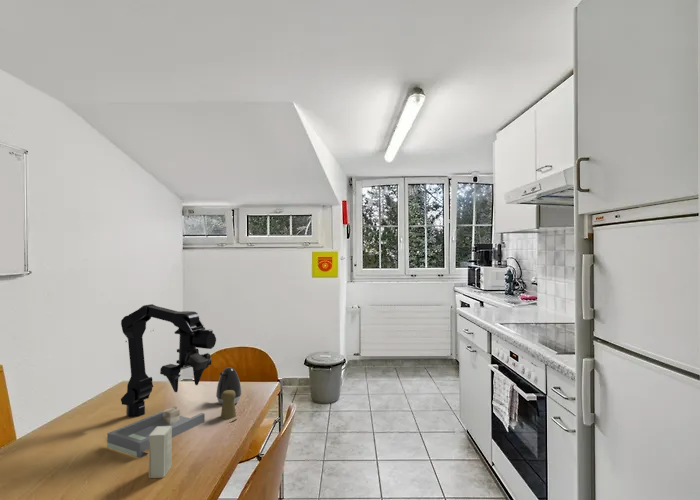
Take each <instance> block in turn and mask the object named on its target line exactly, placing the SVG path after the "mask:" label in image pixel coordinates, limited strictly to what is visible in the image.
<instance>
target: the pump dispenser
mask: <svg viewBox="0 0 700 500" xmlns="http://www.w3.org/2000/svg"><path fill="white" fill-rule="evenodd" d="M219 375H220V376H219V379H218V382H217V387H216V392H215V394H216V398H217V399H216V400H217V402H218V403H219V404H220V405H222V404H223V400H222V398H221V395H222V393H223V392H224V391H226V390H233V391H235V394H236V396H235V399H234V403H235V405H236V404H237V403H238V402H239V400H240V398H241V395H242V386H241V381H240V378H239V375H238V373H237V371H236V370H235V368H233V367H231V366H230V367H229V366H228V367H226V368H224V369H223V371H222V372H220V373H219Z"/></svg>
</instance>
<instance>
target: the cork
mask: <svg viewBox="0 0 700 500" xmlns="http://www.w3.org/2000/svg"><path fill="white" fill-rule="evenodd" d="M235 396H236V394H235V391H233V390H226V391H224V392H223V393H222V395H221V398H222V400H223V404H221V411H220V412H221V413H220V418H221V419H223V420H231V419H233V418H235V419H233V420H231V421H230V422H228V424H231V423H234V422H236V421H237V418H236V417H237V412H236V404H235V403H234V399H235Z"/></svg>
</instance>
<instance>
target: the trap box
mask: <svg viewBox="0 0 700 500" xmlns="http://www.w3.org/2000/svg"><path fill="white" fill-rule="evenodd" d="M170 408H176V409H178V408H177V406H172V407H170ZM170 408H168V409H170ZM165 410H166V409H165ZM165 410H162V411H159V412H157V413H154V414H152V415H149V416H146V417H145V418H141V419H139V420H137V421H134V422H132V423H129V424H127V425H125V426H122V427H119V428H117V429H115V430H112V431H109V432H107V437H106V438H107V440H106V442H107V448H109V449H112V450H115V451H118V452H121V453H123V454H127V455H129V456H134V457H136V458H138V459H141V458H143V457H145V456H147V455H149V452H148V453H147V452H145V451H147V450H148V451H149V435H150V434H151V433H152V431H153V430H154V429H155V428H156V427H157V426H172V438H174V437H177V436H178V435H181V434H183V433H185V432H187V431H189V430H191V429H193V428H195V427H198V426H200V425H201V424H203V423H205V421H206V420H205V418H206V417H205V415H206V414H205V413H204V412H203V413H202V412H200V413H198V414H196V415H195V416H194V415H193V416H192V417H186V416H183V415H180V417H179V421H177V422H174V423H172V424H167V423H164V422H163V411H165Z"/></svg>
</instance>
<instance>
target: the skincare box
mask: <svg viewBox="0 0 700 500" xmlns="http://www.w3.org/2000/svg"><path fill="white" fill-rule="evenodd" d="M172 439H173V437H172V426H157V427H156V428H155V429H154V430H153V431H152V433H151V434H150V435H149V449H148V479H155V478H158V479H161V478H163V479H164V478H165V476H167V473H168V472H169V471H170V470H171V467H172V449H173V448H172V442H173V441H172Z"/></svg>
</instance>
